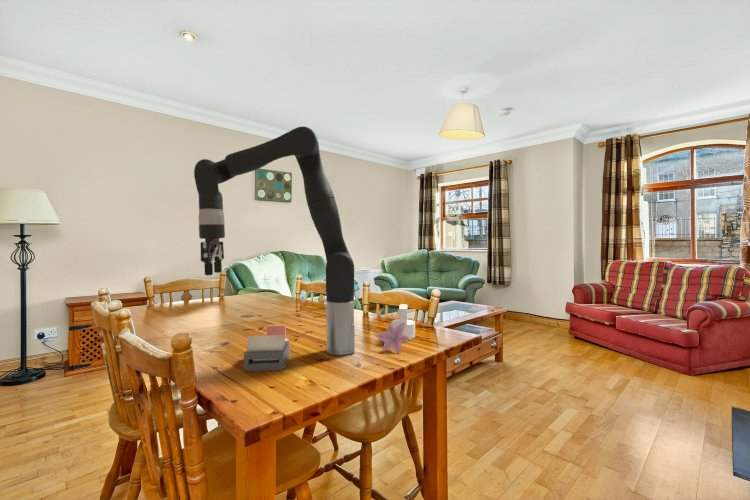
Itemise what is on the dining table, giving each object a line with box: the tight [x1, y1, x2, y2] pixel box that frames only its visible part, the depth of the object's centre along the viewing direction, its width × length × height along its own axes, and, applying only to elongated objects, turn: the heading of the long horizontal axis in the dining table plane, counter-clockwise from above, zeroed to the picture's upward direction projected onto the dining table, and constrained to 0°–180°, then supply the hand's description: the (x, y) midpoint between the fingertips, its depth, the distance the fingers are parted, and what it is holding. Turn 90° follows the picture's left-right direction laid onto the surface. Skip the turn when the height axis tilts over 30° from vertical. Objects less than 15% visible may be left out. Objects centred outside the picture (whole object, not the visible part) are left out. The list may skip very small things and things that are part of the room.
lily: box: [375, 322, 410, 354], centre depth 121 cm, size 11×11×9 cm
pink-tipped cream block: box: [252, 324, 289, 361], centre depth 113 cm, size 8×20×6 cm, turn 6°
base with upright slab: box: [391, 303, 416, 339], centre depth 135 cm, size 9×9×12 cm
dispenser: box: [243, 335, 291, 372], centre depth 108 cm, size 11×14×9 cm
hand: (213, 273), depth 114 cm, fingers open, 8 cm apart
